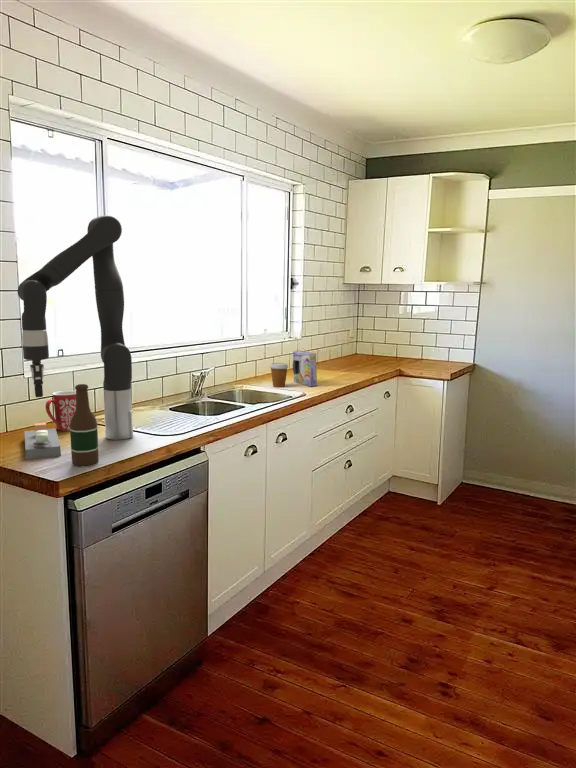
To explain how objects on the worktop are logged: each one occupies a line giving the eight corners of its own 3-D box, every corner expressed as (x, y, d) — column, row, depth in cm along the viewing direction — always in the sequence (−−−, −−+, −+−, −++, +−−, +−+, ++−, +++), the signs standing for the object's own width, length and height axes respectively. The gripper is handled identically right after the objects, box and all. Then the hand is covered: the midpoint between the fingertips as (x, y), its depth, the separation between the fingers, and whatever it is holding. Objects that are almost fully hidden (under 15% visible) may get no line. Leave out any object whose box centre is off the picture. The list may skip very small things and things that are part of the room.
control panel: (56, 436, 208) (55, 428, 207) (61, 456, 185) (60, 446, 184) (25, 439, 203) (24, 430, 203) (26, 459, 180) (25, 450, 180)
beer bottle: (82, 458, 182) (78, 382, 178) (104, 460, 180) (100, 383, 176) (66, 465, 175) (61, 386, 171) (88, 468, 173) (84, 387, 169)
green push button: (48, 438, 186) (48, 432, 186) (48, 441, 183) (48, 435, 183) (36, 440, 185) (35, 433, 185) (36, 442, 182) (35, 436, 181)
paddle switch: (46, 432, 199) (46, 422, 199) (47, 434, 197) (46, 424, 196) (35, 433, 198) (34, 423, 197) (35, 435, 195) (34, 425, 195)
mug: (70, 424, 226) (68, 389, 223) (85, 427, 221) (83, 392, 218) (40, 430, 215) (37, 394, 213) (55, 434, 210) (52, 397, 208)
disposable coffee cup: (281, 388, 305) (281, 365, 303) (266, 386, 310) (266, 364, 308) (291, 386, 313) (291, 363, 311) (276, 384, 318) (276, 362, 316)
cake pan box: (291, 381, 327) (292, 350, 324) (299, 381, 329) (300, 349, 326) (309, 387, 310) (309, 353, 307) (317, 386, 313) (317, 353, 310)
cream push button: (47, 435, 190) (47, 429, 190) (48, 438, 187) (47, 432, 187) (35, 436, 189) (35, 430, 189) (36, 439, 186) (35, 433, 185)
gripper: (49, 345, 182) (52, 397, 185) (47, 341, 195) (50, 390, 198) (22, 346, 179) (26, 399, 182) (22, 342, 192) (26, 391, 195)
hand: (38, 394), depth 190 cm, fingers open, 7 cm apart
